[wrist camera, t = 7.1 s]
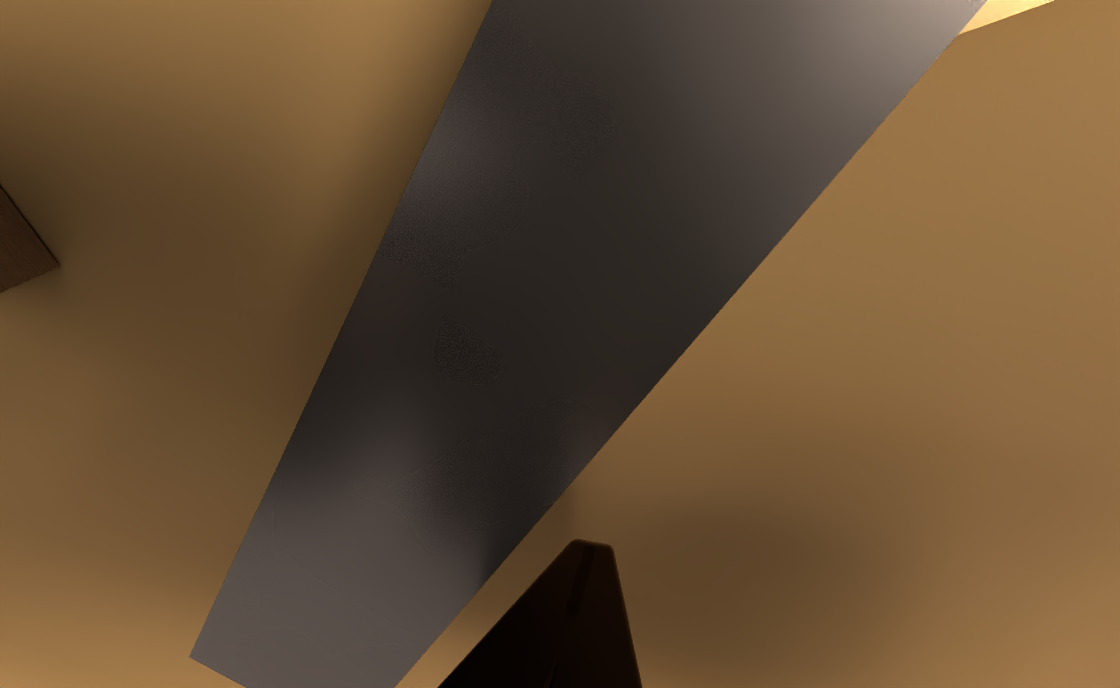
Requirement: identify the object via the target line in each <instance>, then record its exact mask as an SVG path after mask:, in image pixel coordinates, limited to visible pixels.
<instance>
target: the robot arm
mask: <svg viewBox="0 0 1120 688" xmlns="http://www.w3.org/2000/svg"><path fill="white" fill-rule="evenodd" d="M438 688H642V683H641V678H640V673H639V669H638V664H637V659H636V654H635V650H634V645H633V640H632V635H631V631H630V626H629V621H628V616H627V612H626V607H625V602H624V597H623V593H622V588H621V583H620V578H619V574H618V569H617V564H616V559H615V555H614V550H613V548H612V547H611V546H610V545H608V544H603V543H597V542H592V541H586V540H581V539H575V540H573V541H571V542H570V543H569V544H568V545H567V546H566V547H565V548H564V550H563V551H562V552H561V553H560V554H559V555H558V556H557V557H556V558H555V559H554V561H553V562H552V563H551V564H550V565H549V566H548V567H547V568H546V569H545V570H544V571H543V573H542V574H541V575H540V576H539V577H538V578H537V579H536V580H535V581H534V582H533V584H532V585H531V586H530V587H529V588H528V589H527V590H526V591H525V592H524V593H523V595H522V596H521V597H520V598H519V599H518V600H517V601H516V602H515V603H514V604H513V605H512V607H511V608H510V609H509V610H508V611H507V612H506V613H505V614H504V615H503V616H502V618H501V619H500V620H499V621H498V622H497V623H496V624H495V625H494V626H493V627H492V628H491V630H490V631H489V632H488V633H487V634H486V635H485V636H484V637H483V638H482V639H481V641H480V642H479V643H478V644H477V645H476V646H475V647H474V648H473V649H472V650H471V651H470V653H469V654H468V655H467V656H466V657H465V658H464V659H463V660H462V661H461V662H460V664H459V665H458V666H457V667H456V668H455V669H454V670H453V671H452V672H451V673H450V674H449V676H448V677H447V678H446V679H445V680H444V681H443V682H442V683H441V684H440V685H439V687H438Z"/></svg>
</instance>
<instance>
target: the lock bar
mask: <svg viewBox="0 0 1120 688" xmlns="http://www.w3.org/2000/svg"><path fill="white" fill-rule="evenodd" d="M986 2H987V0H493V1H492V3H491V6H490V8H489V10H488V12H487V14H486V16H485V19H484V21H483V23H482V25H481V27H480V29H479V32H478V34H477V36H476V38H475V40H474V42H473V44H472V47H471V49H470V51H469V53H468V55H467V57H466V60H465V62H464V64H463V66H462V68H461V70H460V73H459V75H458V77H457V79H456V81H455V83H454V86H453V88H452V90H451V92H450V94H449V96H448V99H447V101H446V103H445V105H444V107H443V109H442V112H441V114H440V116H439V118H438V120H437V122H436V124H435V127H434V129H433V131H432V133H431V135H430V137H429V140H428V142H427V144H426V146H425V148H424V150H423V153H422V155H421V157H420V159H419V161H418V163H417V166H416V168H415V170H414V172H413V174H412V176H411V179H410V181H409V183H408V185H407V187H406V189H405V192H404V194H403V196H402V198H401V200H400V202H399V204H398V207H397V209H396V211H395V213H394V215H393V217H392V220H391V222H390V224H389V226H388V228H387V230H386V233H385V235H384V237H383V239H382V241H381V243H380V246H379V248H378V250H377V252H376V254H375V256H374V259H373V261H372V263H371V265H370V267H369V269H368V272H367V274H366V276H365V278H364V280H363V282H362V284H361V287H360V289H359V291H358V293H357V295H356V297H355V300H354V302H353V304H352V306H351V308H350V310H349V313H348V315H347V317H346V319H345V321H344V323H343V326H342V328H341V330H340V332H339V334H338V336H337V339H336V341H335V343H334V345H333V347H332V349H331V352H330V354H329V356H328V358H327V360H326V362H325V364H324V367H323V369H322V371H321V373H320V375H319V377H318V380H317V382H316V384H315V386H314V388H313V390H312V393H311V395H310V397H309V399H308V401H307V403H306V406H305V408H304V410H303V412H302V414H301V416H300V419H299V421H298V423H297V425H296V427H295V429H294V432H293V434H292V436H291V438H290V440H289V442H288V444H287V447H286V449H285V451H284V453H283V455H282V457H281V460H280V462H279V464H278V466H277V468H276V470H275V473H274V475H273V477H272V479H271V481H270V483H269V486H268V488H267V490H266V492H265V494H264V496H263V499H262V501H261V503H260V505H259V507H258V509H257V512H256V514H255V516H254V518H253V520H252V522H251V524H250V527H249V529H248V531H247V533H246V535H245V537H244V540H243V542H242V544H241V546H240V548H239V550H238V553H237V555H236V557H235V559H234V561H233V563H232V566H231V568H230V570H229V572H228V574H227V576H226V579H225V581H224V583H223V585H222V587H221V589H220V592H219V594H218V596H217V598H216V600H215V602H214V604H213V607H212V609H211V611H210V613H209V615H208V617H207V620H206V622H205V624H204V626H203V628H202V630H201V633H200V635H199V637H198V639H197V641H196V643H195V646H194V648H193V650H192V652H191V654H190V656H189V657H190V658H192V659H194V660H196V661H198V662H200V663H201V664H203V665H205V666H207V667H209V668H211V669H213V670H214V671H216V672H218V673H220V674H222V675H224V676H225V677H227V678H229V679H231V680H233V681H235V682H237V683H238V684H240V685H242V686H244V687H246V688H395V686H396V685H397V684H398V683H399V682H400V681H401V680H402V678H403V677H404V676H405V675H406V674H407V673H408V671H409V670H410V669H411V668H412V667H413V666H414V664H415V663H416V662H417V661H418V660H419V659H420V657H421V656H422V655H423V654H424V653H425V652H426V651H427V649H428V648H429V647H430V646H431V645H432V644H433V642H434V641H435V640H436V639H437V638H438V637H439V635H440V634H441V633H442V632H443V631H444V630H445V629H446V627H447V626H448V625H449V624H450V623H451V622H452V620H453V619H454V618H455V617H456V616H457V615H458V613H459V612H460V611H461V610H462V609H463V608H464V606H465V605H466V604H467V603H468V602H469V601H470V600H471V598H472V597H473V596H474V595H475V594H476V593H477V591H478V590H479V589H480V588H481V587H482V586H483V584H484V583H485V582H486V581H487V580H488V579H489V578H490V576H491V575H492V574H493V573H494V572H495V571H496V569H497V568H498V567H499V566H500V565H501V564H502V562H503V561H504V560H505V559H506V558H507V557H508V555H509V554H510V553H511V552H512V551H513V550H514V549H515V547H516V546H517V545H518V544H519V543H520V542H521V540H522V539H523V538H524V537H525V536H526V535H527V533H528V532H529V531H530V530H531V529H532V528H533V527H534V525H535V524H536V523H537V522H538V521H539V520H540V518H541V517H542V516H543V515H544V514H545V513H546V511H547V510H548V509H549V508H550V507H551V506H552V505H553V503H554V502H555V501H556V500H557V499H558V498H559V496H560V495H561V494H562V493H563V492H564V491H565V489H566V488H567V487H568V486H569V485H570V484H571V482H572V481H573V480H574V479H575V478H576V477H577V476H578V474H579V473H580V472H581V471H582V470H583V469H584V467H585V466H586V465H587V464H588V463H589V462H590V460H591V459H592V458H593V457H594V456H595V455H596V454H597V452H598V451H599V450H600V449H601V448H602V447H603V445H604V444H605V443H606V442H607V441H608V440H609V438H610V437H611V436H612V435H613V434H614V433H615V431H616V430H617V429H618V428H619V427H620V426H621V425H622V423H623V422H624V421H625V420H626V419H627V418H628V416H629V415H630V414H631V413H632V412H633V411H634V409H635V408H636V407H637V406H638V405H639V404H640V403H641V401H642V400H643V399H644V398H645V397H646V396H647V394H648V393H649V392H650V391H651V390H652V389H653V387H654V386H655V385H656V384H657V383H658V382H659V380H660V379H661V378H662V377H663V376H664V375H665V374H666V372H667V371H668V370H669V369H670V368H671V367H672V365H673V364H674V363H675V362H676V361H677V360H678V358H679V357H680V356H681V355H682V354H683V353H684V352H685V350H686V349H687V348H688V347H689V346H690V345H691V343H692V342H693V341H694V340H695V339H696V338H697V336H698V335H699V334H700V333H701V332H702V331H703V330H704V328H705V327H706V326H707V325H708V324H709V323H710V321H711V320H712V319H713V318H714V317H715V316H716V314H717V313H718V312H719V311H720V310H721V309H722V307H723V306H724V305H725V304H726V303H727V302H728V301H729V299H730V298H731V297H732V296H733V295H734V294H735V292H736V291H737V290H738V289H739V288H740V287H741V285H742V284H743V283H744V282H745V281H746V280H747V279H748V277H749V276H750V275H751V274H752V273H753V272H754V270H755V269H756V268H757V267H758V266H759V265H760V263H761V262H762V261H763V260H764V259H765V258H766V256H767V255H768V254H769V253H770V252H771V251H772V250H773V248H774V247H775V246H776V245H777V244H778V243H779V241H780V240H781V239H782V238H783V237H784V236H785V234H786V233H787V232H788V231H789V230H790V229H791V228H792V226H793V225H794V224H795V223H796V222H797V221H798V219H799V218H800V217H801V216H802V215H803V214H804V212H805V211H806V210H807V209H808V208H809V207H810V205H811V204H812V203H813V202H814V201H815V200H816V199H817V197H818V196H819V195H820V194H821V193H822V192H823V190H824V189H825V188H826V187H827V186H828V185H829V183H830V182H831V181H832V180H833V179H834V178H835V177H836V175H837V174H838V173H839V172H840V171H841V170H842V168H843V167H844V166H845V165H846V164H847V163H848V161H849V160H850V159H851V158H852V157H853V156H854V155H855V153H856V152H857V151H858V150H859V149H860V148H861V146H862V145H863V144H864V143H865V142H866V141H867V139H868V138H869V137H870V136H871V135H872V134H873V132H874V131H875V130H876V129H877V128H878V127H879V126H880V124H881V123H882V122H883V121H884V120H885V119H886V117H887V116H888V115H889V114H890V113H891V112H892V110H893V109H894V108H895V107H896V106H897V105H898V104H899V102H900V101H901V100H902V99H903V98H904V97H905V95H906V94H907V93H908V92H909V91H910V90H911V88H912V87H913V86H914V85H915V84H916V83H917V81H918V80H919V79H920V78H921V77H922V76H923V75H924V73H925V72H926V71H927V70H928V69H929V68H930V66H931V65H932V64H933V63H934V62H935V61H936V59H937V58H938V57H939V56H940V55H941V54H942V53H943V51H944V50H945V49H946V48H947V47H948V46H949V44H950V43H951V42H952V41H953V40H954V39H955V37H956V36H957V35H958V34H959V33H960V32H961V30H962V29H963V28H964V27H965V26H966V25H967V24H968V22H969V21H970V20H971V19H972V18H973V17H974V15H975V14H976V13H977V12H978V11H979V10H980V8H981V7H982V6H983V5H984V4H985V3H986Z"/></svg>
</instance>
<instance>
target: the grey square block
mask: <svg viewBox="0 0 1120 688" xmlns="http://www.w3.org/2000/svg"><path fill="white" fill-rule="evenodd" d="M57 267H59V265H58V264H57V262H56V261H55V260H54V258H53V257H52V256H51V254H50V253H49V252H48V250H47V249H46V248H45V246H44V245H43V244H42V242H41V241H40V240H39V238H38V237H37V236H36V234H35V233H34V232H33V230H32V229H31V228H30V226H29V225H28V224H27V222H26V221H25V220H24V218H23V217H22V216H21V214H20V213H19V212H18V210H17V209H16V208H15V206H14V205H13V204H12V202H11V201H10V200H9V198H8V197H7V196H6V194H5V193H4V192H3V190H2V189H1V188H0V293H1V292H4V291H6V290H8V289H10V288H12V287H15V286H17V285H19V284H21V283H23V282H26V281H28V280H30V279H32V278H35V277H37V276H39V275H41V274H43V273H46V272H48V271H50V270H52V269H54V268H57Z"/></svg>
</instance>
